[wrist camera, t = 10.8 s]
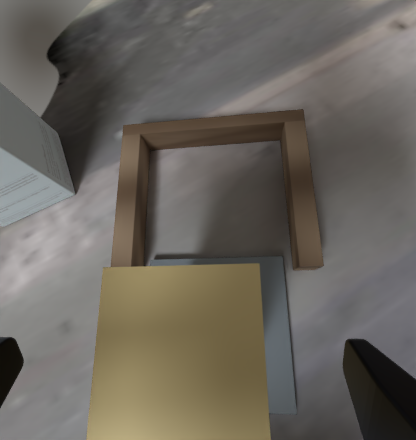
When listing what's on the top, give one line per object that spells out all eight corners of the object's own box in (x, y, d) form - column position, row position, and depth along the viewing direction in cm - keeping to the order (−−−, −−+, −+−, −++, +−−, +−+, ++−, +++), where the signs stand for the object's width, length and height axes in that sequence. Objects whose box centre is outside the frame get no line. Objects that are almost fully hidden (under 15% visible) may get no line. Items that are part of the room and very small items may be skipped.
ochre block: (254, 361, 18) (271, 462, 7) (180, 360, 19) (85, 452, 7) (249, 284, 20) (259, 263, 8) (182, 286, 20) (103, 267, 9)
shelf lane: (314, 269, 20) (323, 265, 18) (124, 274, 22) (110, 271, 19) (297, 128, 23) (303, 109, 21) (134, 141, 25) (123, 125, 23)
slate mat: (295, 410, 18) (296, 414, 17) (146, 405, 19) (143, 409, 18) (281, 257, 21) (282, 256, 20) (152, 260, 22) (150, 259, 21)
